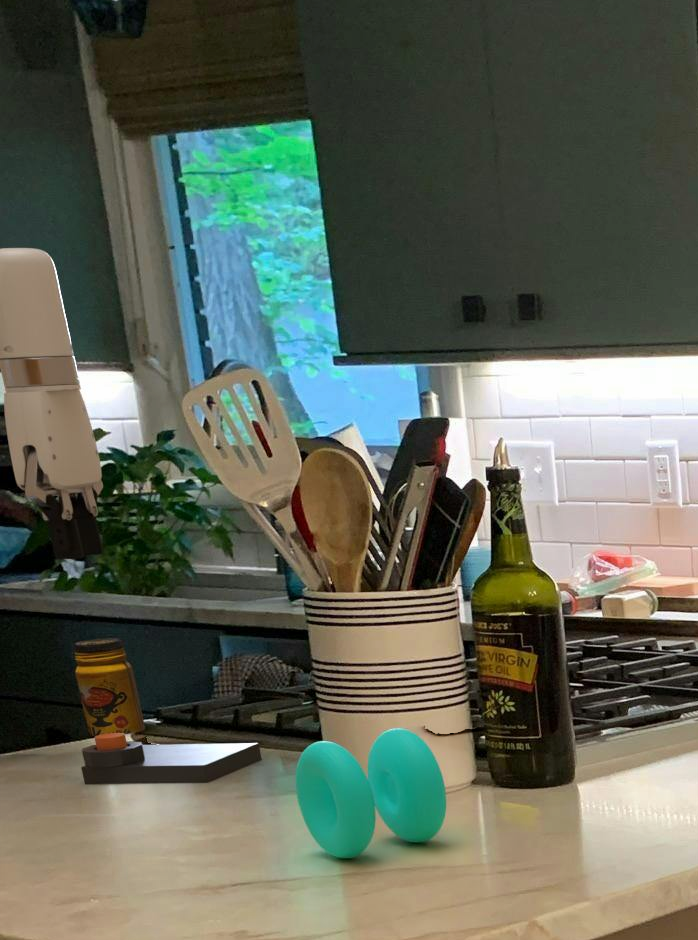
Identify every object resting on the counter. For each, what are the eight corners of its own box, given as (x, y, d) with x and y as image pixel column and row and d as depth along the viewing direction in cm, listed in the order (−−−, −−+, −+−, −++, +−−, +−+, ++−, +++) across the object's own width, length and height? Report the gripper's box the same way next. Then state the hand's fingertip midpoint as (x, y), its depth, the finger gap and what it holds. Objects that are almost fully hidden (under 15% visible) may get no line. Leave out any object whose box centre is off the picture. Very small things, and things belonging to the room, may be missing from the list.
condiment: (91, 756, 219) (66, 647, 214) (85, 745, 225) (61, 639, 221) (159, 748, 221) (136, 640, 216) (151, 737, 228) (129, 633, 223)
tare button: (91, 753, 203) (88, 738, 202) (107, 747, 206) (104, 732, 205) (118, 752, 202) (114, 737, 202) (133, 747, 205) (130, 732, 204)
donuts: (460, 846, 170) (442, 731, 166) (357, 869, 164) (336, 750, 160) (403, 831, 177) (384, 720, 173) (301, 852, 171) (280, 738, 166)
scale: (78, 786, 203) (70, 752, 202) (140, 762, 214) (134, 730, 213) (205, 784, 201) (198, 750, 199) (262, 760, 212) (256, 728, 211)
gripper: (52, 376, 215) (89, 550, 223) (-38, 380, 200) (5, 565, 208) (114, 373, 214) (149, 548, 222) (28, 377, 199) (69, 563, 207)
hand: (79, 554), depth 215 cm, fingers open, 3 cm apart
